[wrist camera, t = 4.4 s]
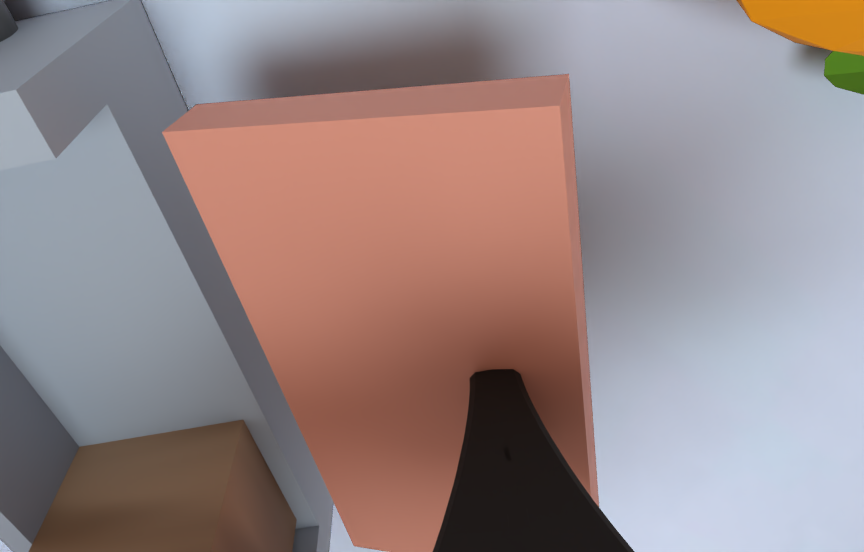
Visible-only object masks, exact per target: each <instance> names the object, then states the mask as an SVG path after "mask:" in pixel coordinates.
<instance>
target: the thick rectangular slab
mask: <svg viewBox="0 0 864 552" xmlns="http://www.w3.org/2000/svg"><path fill="white" fill-rule="evenodd" d="M162 133H163V136H164V138H165V140H166V142H167V144H168V146H169V148H170V151H171V153H172V155H173V157H174V159H175V161H176V164H177V166H178V168H179V170H180V172H181V174H182V176H183V179H184V181H185V183H186V185H187V187H188V189H189V192H190V194H191V196H192V198H193V200H194V202H195V205H196V207H197V209H198V211H199V213H200V215H201V217H202V220H203V222H204V224H205V226H206V228H207V230H208V233H209V235H210V237H211V239H212V241H213V243H214V245H215V248H216V250H217V252H218V254H219V256H220V258H221V261H222V263H223V265H224V267H225V269H226V271H227V273H228V276H229V278H230V280H231V282H232V284H233V286H234V289H235V291H236V293H237V295H238V297H239V299H240V301H241V304H242V306H243V308H244V310H245V312H246V314H247V317H248V319H249V321H250V323H251V325H252V327H253V329H254V332H255V334H256V336H257V338H258V340H259V342H260V345H261V347H262V349H263V351H264V353H265V355H266V357H267V360H268V362H269V364H270V366H271V368H272V370H273V373H274V375H275V377H276V379H277V381H278V383H279V385H280V388H281V390H282V392H283V394H284V396H285V398H286V401H287V403H288V405H289V407H290V409H291V411H292V413H293V416H294V418H295V420H296V422H297V424H298V426H299V429H300V431H301V433H302V435H303V437H304V439H305V441H306V444H307V446H308V448H309V450H310V452H311V454H312V457H313V459H314V461H315V463H316V465H317V467H318V469H319V472H320V474H321V476H322V478H323V480H324V482H325V485H326V487H327V489H328V491H329V493H330V495H331V498H332V500H333V502H334V504H335V506H336V508H337V510H338V513H339V515H340V517H341V519H342V521H343V523H344V526H345V528H346V530H347V532H348V534H349V536H350V538H351V541H352V543H353V545H354V546H357V547H363V548H369V549H375V550H382V551H388V552H433V549H434V546H435V543H436V540H437V537H438V534H439V531H440V528H441V525H442V522H443V519H444V515H445V512H446V508H447V505H448V501H449V498H450V494H451V491H452V487H453V484H454V480H455V476H456V472H457V467H458V463H459V458H460V453H461V449H462V444H463V440H464V434H465V428H466V422H467V415H468V406H469V394H470V377H471V376H472V375H473V374H474V373H475V372H480V371H486V370H492V369H514V370H515V371H517V372H518V373H520V374H521V377H522V380H523V383H524V385H525V388H526V390H527V392H528V395H529V397H530V399H531V401H532V403H533V405H534V407H535V409H536V411H537V413H538V415H539V417H540V418H541V420H542V422H543V424H544V426H545V428H546V429H547V431H548V433H549V434H550V436H551V438H552V439H553V441H554V443H555V444H556V446H557V447H558V449H559V450H560V452H561V454H562V455H563V457H564V458H565V460H566V461H567V463H568V465H569V466H570V468H571V469H572V471H573V472H574V473H575V475H576V476H577V478H578V479H579V481H580V482H581V484H582V485H583V486H584V488H585V489H586V491H587V492H588V493H589V495H590V496H591V497H592V499H593V500H594V502H595V503H596V504H597V506H598V507H599V499H598V485H597V471H596V456H595V442H594V428H593V413H592V399H591V384H590V370H589V356H588V341H587V327H586V313H585V298H584V284H583V269H582V255H581V241H580V226H579V212H578V197H577V183H576V169H575V154H574V140H573V126H572V111H571V97H570V82H569V74H563V75H551V76H538V77H526V78H514V79H502V80H489V81H477V82H465V83H452V84H440V85H428V86H416V87H403V88H391V89H379V90H367V91H354V92H342V93H330V94H317V95H305V96H293V97H281V98H268V99H256V100H244V101H232V102H219V103H207V104H197V105H195V106H194V107H193V108H192V109H190V110H189V111H188V112H186V113H185V114H184V115H183V116H181V117H180V118H179V119H178V120H176V121H175V122H174V123H173V124H171V125H170V126H169V127H168V128H166V129H165V130H164V131H163V132H162Z"/></svg>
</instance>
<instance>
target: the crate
mask: <svg viewBox="0 0 864 552" xmlns="http://www.w3.org/2000/svg"><path fill="white" fill-rule="evenodd" d="M296 521H297V519H296V517H295V516H294V514H293V512H292V510H291V508H290V506H289V504H288V502H287V501H286V499H285V497H284V495H283V493H282V491H281V489H280V487H279V486H278V484H277V482H276V480H275V478H274V476H273V474H272V472H271V471H270V469H269V467H268V465H267V463H266V461H265V459H264V457H263V456H262V454H261V452H260V450H259V448H258V446H257V444H256V442H255V441H254V439H253V437H252V435H251V433H250V431H249V429H248V427H247V426H246V424H245V422H244V420H237V421H231V422H225V423H219V424H213V425H207V426H201V427H195V428H189V429H183V430H177V431H171V432H165V433H159V434H153V435H147V436H141V437H135V438H129V439H123V440H117V441H111V442H105V443H99V444H93V445H87V446H81V447H79V449H78V451H77V453H76V455H75V457H74V459H73V461H72V463H71V465H70V467H69V469H68V471H67V473H66V475H65V478H64V480H63V482H62V484H61V486H60V488H59V490H58V492H57V494H56V496H55V498H54V500H53V502H52V504H51V506H50V508H49V511H48V513H47V515H46V517H45V519H44V521H43V523H42V525H41V527H40V529H39V531H38V533H37V535H36V537H35V539H34V541H33V543H32V546H31V548H30V550H29V552H292V550H293V543H294V536H295V528H296Z"/></svg>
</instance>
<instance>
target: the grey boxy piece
mask: <svg viewBox="0 0 864 552" xmlns="http://www.w3.org/2000/svg"><path fill="white" fill-rule="evenodd" d="M186 112H188V110H187V108H186V105H185V103H184V101H183V98H182V96H181V94H180V91H179V89H178V87H177V84H176V82H175V80H174V77H173V75H172V73H171V70H170V68H169V66H168V63H167V61H166V59H165V56H164V54H163V52H162V49H161V47H160V45H159V43H158V40H157V38H156V36H155V33H154V31H153V29H152V26H151V24H150V22H149V19H148V17H147V15H146V12H145V10H144V8H143V5H142V3H141V1H140V0H110V1H106V2H101V3H97V4H92V5H88V6H83V7H79V8H74V9H70V10H65V11H60V12H56V13H51V14H47V15H42V16H38V17H33V18H29V19H24V20H20V21H14V19H13V17H12V15H11V13H10V12H9V10H8V8H7V6H6V4H5V3H4V1H3V0H0V539H1V540H2V541H3V542H4V543H5V544H6V545H7V546H8V547H9V548H10V549H11V550H12V551H13V552H29V550H30V548H31V546H32V543H33V541H34V539H35V537H36V535H37V533H38V531H39V529H40V527H41V525H42V523H43V521H44V519H45V517H46V515H47V513H48V511H49V508H50V506H51V504H52V502H53V500H54V498H55V496H56V494H57V492H58V490H59V488H60V486H61V484H62V482H63V480H64V478H65V475H66V473H67V471H68V469H69V467H70V465H71V463H72V461H73V459H74V457H75V455H76V453H77V451H78V449H79V447H81V446H87V445H93V444H99V443H105V442H111V441H117V440H123V439H129V438H135V437H141V436H147V435H153V434H159V433H165V432H171V431H177V430H183V429H189V428H195V427H201V426H207V425H213V424H219V423H225V422H231V421H237V420H244V422H245V424H246V426H247V427H248V429H249V431H250V433H251V435H252V437H253V439H254V441H255V442H256V444H257V446H258V448H259V450H260V452H261V454H262V456H263V457H264V459H265V461H266V463H267V465H268V467H269V469H270V471H271V472H272V474H273V476H274V478H275V480H276V482H277V484H278V486H279V487H280V489H281V491H282V493H283V495H284V497H285V499H286V501H287V502H288V504H289V506H290V508H291V510H292V512H293V514H294V516H295V517H296V519H297V521H296V528H295V536H294V543H293V550H292V552H329V547H330V536H331V525H332V514H333V503H334V502H333V500H332V498H331V495H330V493H329V491H328V489H327V487H326V485H325V482H324V480H323V478H322V476H321V474H320V472H319V469H318V467H317V465H316V463H315V461H314V459H313V457H312V454H311V452H310V450H309V448H308V446H307V444H306V441H305V439H304V437H303V435H302V433H301V431H300V429H299V426H298V424H297V422H296V420H295V418H294V416H293V413H292V411H291V409H290V407H289V405H288V403H287V401H286V398H285V396H284V394H283V392H282V390H281V388H280V385H279V383H278V381H277V379H276V377H275V375H274V373H273V370H272V368H271V366H270V364H269V362H268V360H267V357H266V355H265V353H264V351H263V349H262V347H261V345H260V342H259V340H258V338H257V336H256V334H255V332H254V329H253V327H252V325H251V323H250V321H249V319H248V317H247V314H246V312H245V310H244V308H243V306H242V304H241V301H240V299H239V297H238V295H237V293H236V291H235V289H234V286H233V284H232V282H231V280H230V278H229V276H228V273H227V271H226V269H225V267H224V265H223V263H222V261H221V258H220V256H219V254H218V252H217V250H216V248H215V245H214V243H213V241H212V239H211V237H210V235H209V233H208V230H207V228H206V226H205V224H204V222H203V220H202V217H201V215H200V213H199V211H198V209H197V207H196V205H195V202H194V200H193V198H192V196H191V194H190V192H189V189H188V187H187V185H186V183H185V181H184V179H183V176H182V174H181V172H180V170H179V168H178V166H177V164H176V161H175V159H174V157H173V155H172V153H171V151H170V148H169V146H168V144H167V142H166V140H165V138H164V136H163V133H162V132H163V131H164V130H165V129H166V128H168V127H169V126H170V125H171V124H173V123H174V122H175V121H176V120H178V119H179V118H180V117H181V116H183V115H184V114H185V113H186Z"/></svg>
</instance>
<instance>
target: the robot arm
mask: <svg viewBox="0 0 864 552" xmlns="http://www.w3.org/2000/svg"><path fill="white" fill-rule="evenodd" d="M433 552H634V551H633V549H632V548H631V547H630V546H629V545H628V543H627V542H626V541H625V540H624V539H623V537H622V536H621V535H620V534H619V533H618V531H617V530H616V529H615V528H614V526H613V525H612V524H611V523H610V521H609V520H608V519H607V517H606V516H605V515H604V513H603V512H602V511H601V510H600V508H599V507H598V506H597V504H596V503H595V502H594V500H593V499H592V497H591V496H590V495H589V493H588V492H587V491H586V489H585V488H584V486H583V485H582V484H581V482H580V481H579V479H578V478H577V476H576V475H575V473H574V472H573V471H572V469H571V468H570V466H569V465H568V463H567V461H566V460H565V458H564V457H563V455H562V454H561V452H560V450H559V449H558V447H557V446H556V444H555V443H554V441H553V439H552V438H551V436H550V434H549V433H548V431H547V429H546V428H545V426H544V424H543V422H542V420H541V418H540V417H539V415H538V413H537V411H536V409H535V407H534V405H533V403H532V401H531V399H530V397H529V395H528V392H527V390H526V388H525V385H524V383H523V380H522V377H521V374H520V373H518V372H517V371H515V370H514V369H492V370H486V371H480V372H475V373H474V374H473V375H472V376H471V377H470V394H469V406H468V415H467V422H466V428H465V434H464V440H463V444H462V449H461V453H460V458H459V463H458V467H457V472H456V476H455V480H454V484H453V487H452V491H451V494H450V498H449V501H448V505H447V508H446V512H445V515H444V519H443V522H442V525H441V528H440V531H439V534H438V537H437V540H436V543H435V546H434V549H433Z"/></svg>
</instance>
